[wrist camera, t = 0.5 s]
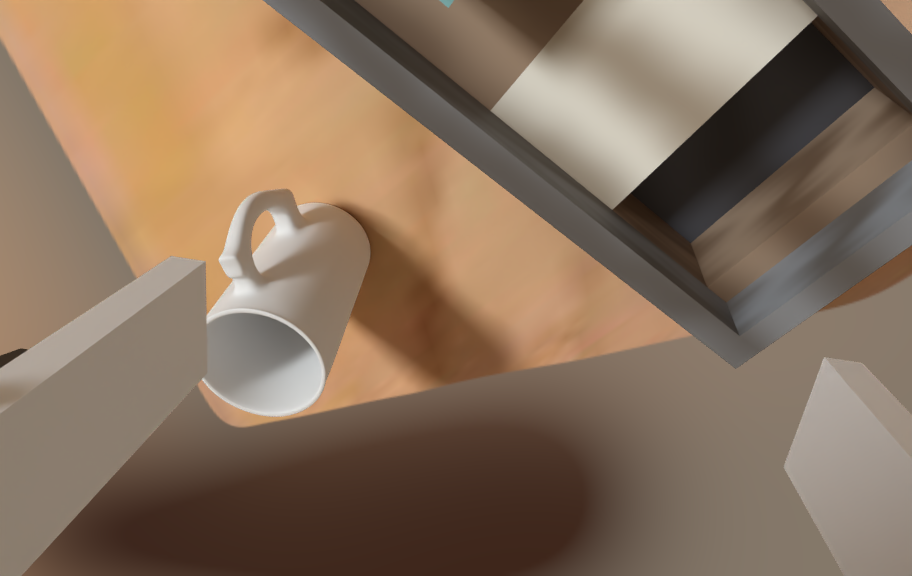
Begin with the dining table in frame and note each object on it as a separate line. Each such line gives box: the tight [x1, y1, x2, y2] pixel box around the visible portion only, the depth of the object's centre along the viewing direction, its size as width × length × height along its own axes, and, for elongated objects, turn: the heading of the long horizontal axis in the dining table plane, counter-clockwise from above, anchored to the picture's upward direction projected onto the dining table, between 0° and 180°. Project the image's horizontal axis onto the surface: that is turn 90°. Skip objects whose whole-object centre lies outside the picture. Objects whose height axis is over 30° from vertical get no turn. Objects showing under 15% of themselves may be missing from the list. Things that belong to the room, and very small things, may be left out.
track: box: [263, 0, 912, 369], centre depth 31 cm, size 15×32×8 cm, turn 52°
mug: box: [202, 189, 371, 417], centre depth 38 cm, size 10×7×12 cm, turn 11°
